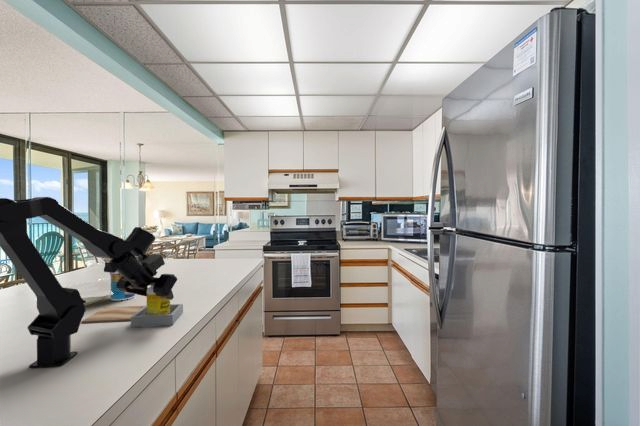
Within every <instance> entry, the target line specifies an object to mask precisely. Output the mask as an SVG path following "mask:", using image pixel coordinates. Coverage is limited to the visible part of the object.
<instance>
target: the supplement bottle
mask: <svg viewBox="0 0 640 426" xmlns="http://www.w3.org/2000/svg"><path fill="white" fill-rule="evenodd" d="M159 277H160V276H158V277H157V278H159ZM170 304H171V300H170V299H166V298H163V297H159V296H156V294H155V293H154V292H153V286H152V285H150V286H148V289H147V297H146V305H147V315H165V314H170Z"/></svg>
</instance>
